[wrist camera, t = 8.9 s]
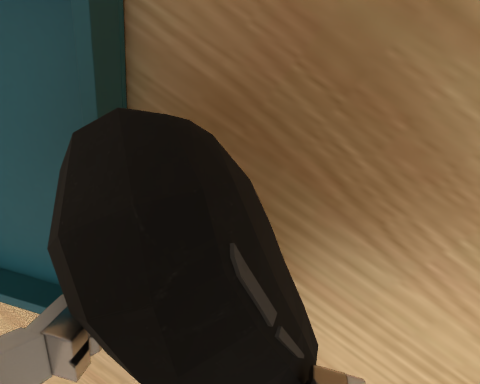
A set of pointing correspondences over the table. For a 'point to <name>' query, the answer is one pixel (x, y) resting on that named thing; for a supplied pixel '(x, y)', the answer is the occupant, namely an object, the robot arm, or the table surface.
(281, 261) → the gaming mouse
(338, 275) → the table surface
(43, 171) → the tray
